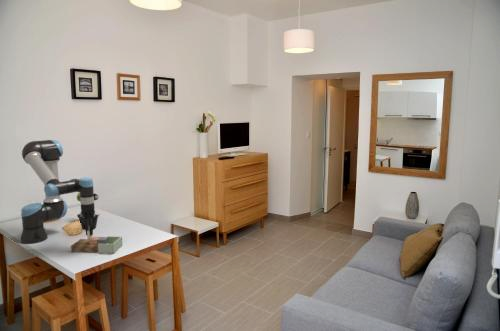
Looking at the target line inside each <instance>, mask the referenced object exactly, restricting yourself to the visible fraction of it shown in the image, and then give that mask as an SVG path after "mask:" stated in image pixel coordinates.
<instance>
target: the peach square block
mask: <svg viewBox="0 0 500 331" xmlns="http://www.w3.org/2000/svg"><path fill="white" fill-rule="evenodd" d="M100 237H101V236H92V238H91V239H89V244H97V239H99V238H100Z"/></svg>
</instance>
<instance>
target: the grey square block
mask: <svg viewBox="0 0 500 331" xmlns="http://www.w3.org/2000/svg"><path fill="white" fill-rule="evenodd" d="M99 237H100V238H99V239H97V244H108V242H109V237H107V236H99Z"/></svg>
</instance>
